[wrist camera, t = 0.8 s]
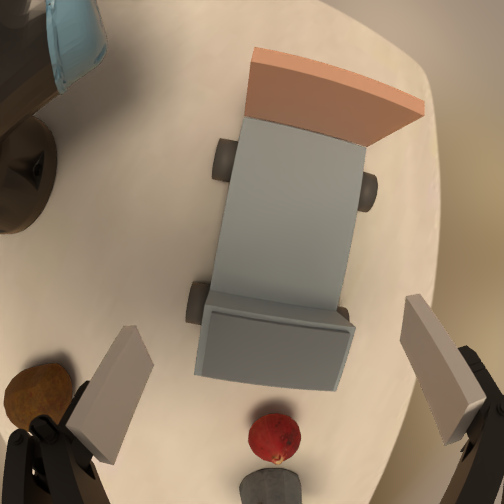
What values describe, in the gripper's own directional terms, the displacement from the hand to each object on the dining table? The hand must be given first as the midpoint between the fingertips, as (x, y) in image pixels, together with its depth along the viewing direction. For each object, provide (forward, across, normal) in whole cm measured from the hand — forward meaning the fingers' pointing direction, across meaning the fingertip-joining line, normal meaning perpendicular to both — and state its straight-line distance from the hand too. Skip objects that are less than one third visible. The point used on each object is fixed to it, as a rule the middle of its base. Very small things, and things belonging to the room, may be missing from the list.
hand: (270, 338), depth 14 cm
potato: (+9, -31, -15) cm, 35 cm away
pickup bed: (+18, +1, -3) cm, 18 cm away
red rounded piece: (+11, -3, -22) cm, 25 cm away
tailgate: (+18, +5, +8) cm, 20 cm away
